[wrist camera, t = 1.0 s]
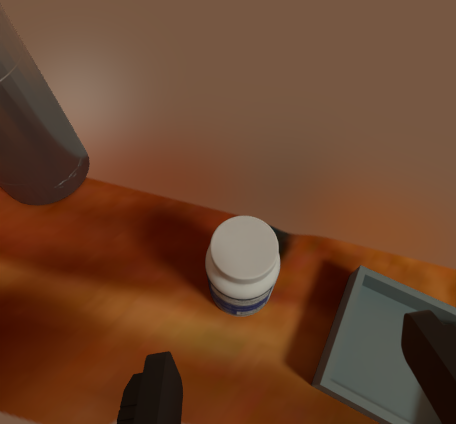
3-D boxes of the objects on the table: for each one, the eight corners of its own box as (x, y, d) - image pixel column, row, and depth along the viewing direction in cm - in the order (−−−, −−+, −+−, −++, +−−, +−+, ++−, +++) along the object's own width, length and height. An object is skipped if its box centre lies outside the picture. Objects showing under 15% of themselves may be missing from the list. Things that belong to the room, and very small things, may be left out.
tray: (311, 385, 27) (320, 384, 25) (349, 275, 32) (360, 265, 29) (441, 456, 25) (466, 464, 22) (463, 328, 30) (486, 321, 27)
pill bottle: (226, 248, 33) (226, 196, 24) (280, 273, 32) (300, 228, 23) (198, 300, 31) (187, 263, 22) (255, 329, 29) (267, 302, 21)
